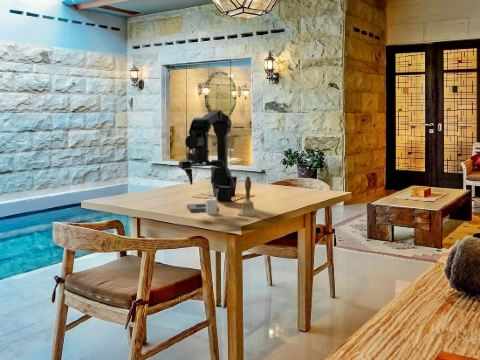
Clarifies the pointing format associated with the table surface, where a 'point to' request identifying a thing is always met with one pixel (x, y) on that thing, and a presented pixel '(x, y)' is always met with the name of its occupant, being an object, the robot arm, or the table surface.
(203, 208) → the outlet plate
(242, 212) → the hand bell
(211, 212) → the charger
